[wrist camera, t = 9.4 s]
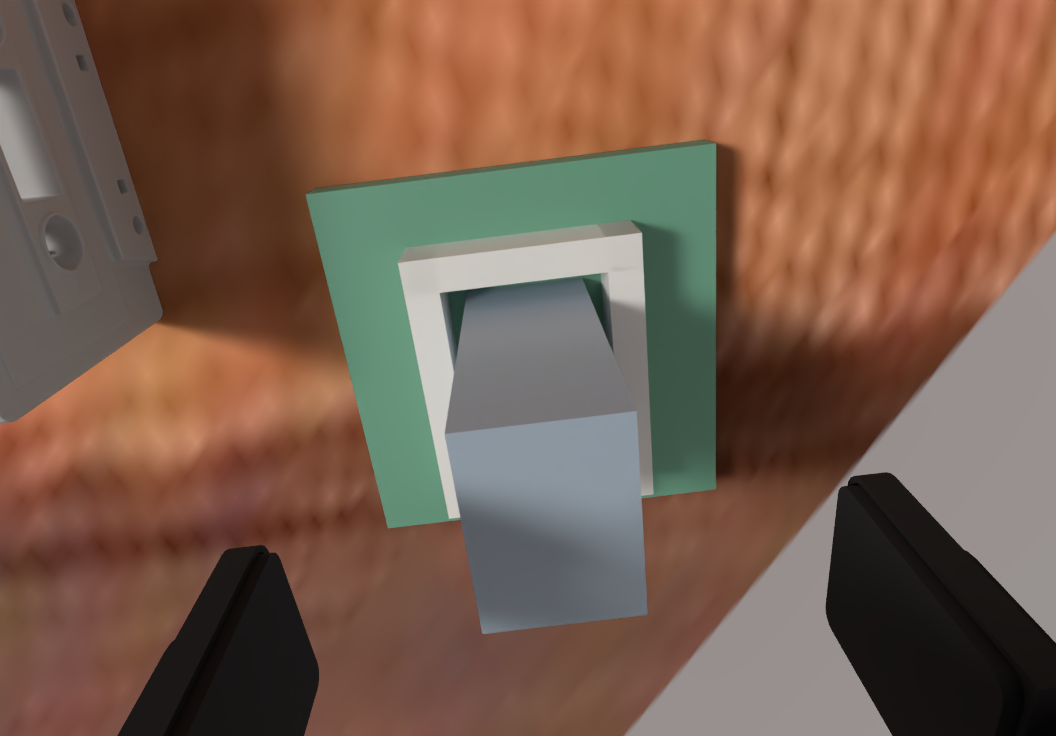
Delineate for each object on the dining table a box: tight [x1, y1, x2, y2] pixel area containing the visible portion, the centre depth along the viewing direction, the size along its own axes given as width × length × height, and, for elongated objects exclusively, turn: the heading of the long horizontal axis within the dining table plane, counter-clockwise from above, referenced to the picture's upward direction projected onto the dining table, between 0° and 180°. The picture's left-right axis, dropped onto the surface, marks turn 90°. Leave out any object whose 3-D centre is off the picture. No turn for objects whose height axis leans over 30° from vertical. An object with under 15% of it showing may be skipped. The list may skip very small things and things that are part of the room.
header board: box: [305, 140, 716, 528], centre depth 21 cm, size 12×12×3 cm
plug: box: [445, 277, 648, 634], centre depth 18 cm, size 6×4×9 cm, turn 6°
